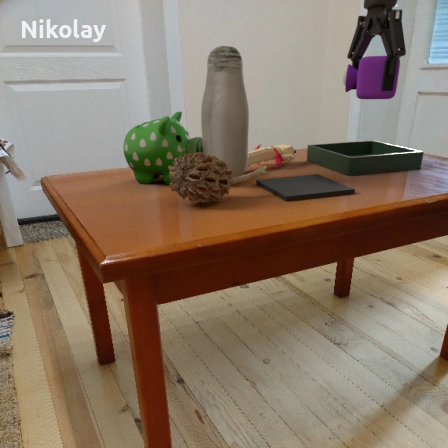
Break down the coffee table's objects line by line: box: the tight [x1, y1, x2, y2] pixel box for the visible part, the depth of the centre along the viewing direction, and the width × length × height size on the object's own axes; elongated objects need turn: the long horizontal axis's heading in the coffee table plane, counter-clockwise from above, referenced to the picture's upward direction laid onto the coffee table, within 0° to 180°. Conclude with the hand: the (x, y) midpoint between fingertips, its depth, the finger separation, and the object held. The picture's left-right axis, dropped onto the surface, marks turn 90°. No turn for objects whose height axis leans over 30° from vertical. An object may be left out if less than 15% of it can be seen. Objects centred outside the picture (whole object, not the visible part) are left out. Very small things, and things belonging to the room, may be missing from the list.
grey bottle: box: [200, 45, 250, 178], centre depth 97 cm, size 10×10×28 cm
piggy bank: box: [123, 111, 203, 185], centre depth 103 cm, size 14×18×15 cm
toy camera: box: [342, 55, 401, 100], centre depth 110 cm, size 11×14×10 cm
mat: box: [255, 173, 356, 202], centre depth 97 cm, size 16×16×1 cm
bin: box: [306, 139, 425, 177], centre depth 119 cm, size 22×22×4 cm
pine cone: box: [168, 152, 270, 204], centre depth 88 cm, size 22×10×10 cm, turn 120°
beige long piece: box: [246, 143, 297, 169], centre depth 115 cm, size 10×9×25 cm
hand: (370, 90), depth 111 cm, fingers closed on toy camera, 13 cm apart
